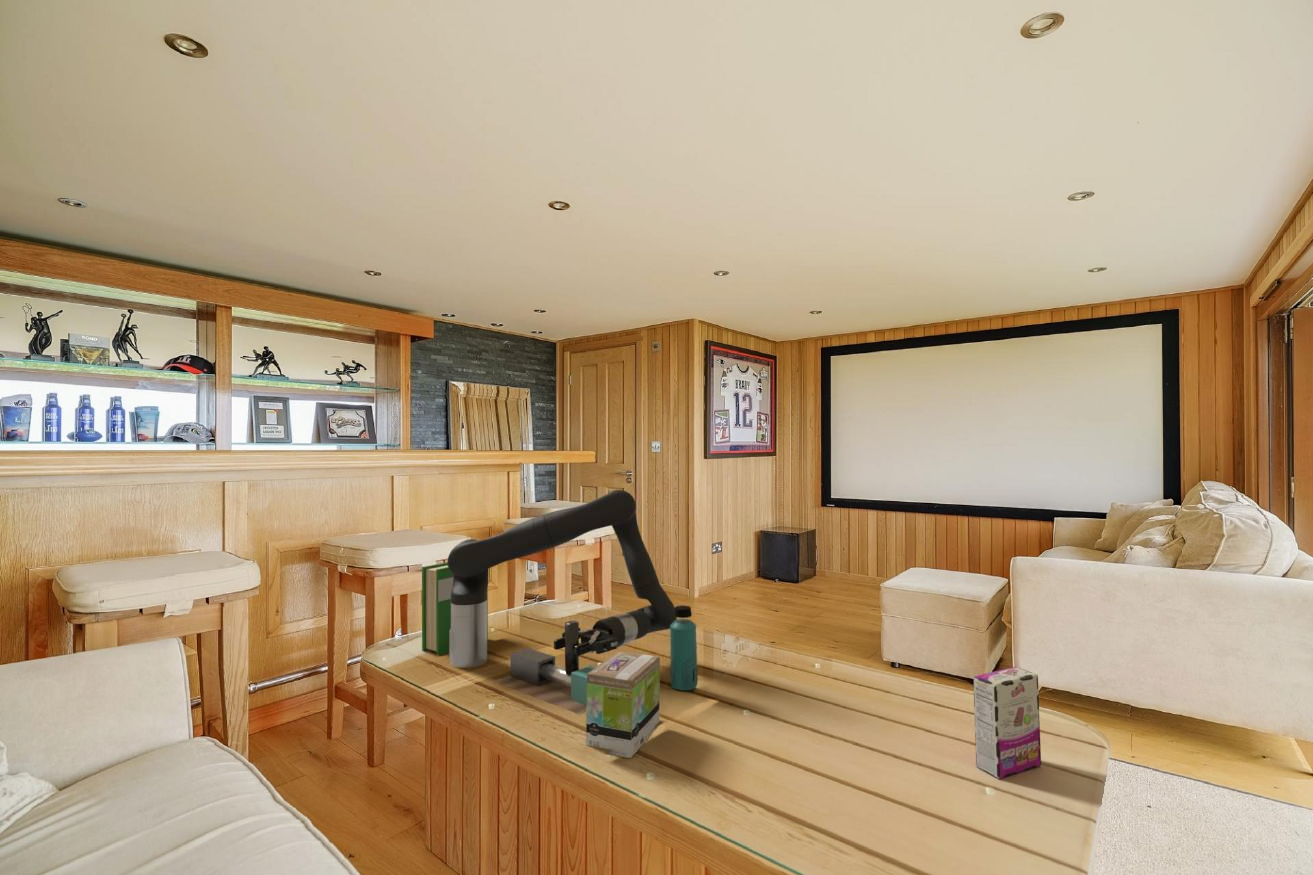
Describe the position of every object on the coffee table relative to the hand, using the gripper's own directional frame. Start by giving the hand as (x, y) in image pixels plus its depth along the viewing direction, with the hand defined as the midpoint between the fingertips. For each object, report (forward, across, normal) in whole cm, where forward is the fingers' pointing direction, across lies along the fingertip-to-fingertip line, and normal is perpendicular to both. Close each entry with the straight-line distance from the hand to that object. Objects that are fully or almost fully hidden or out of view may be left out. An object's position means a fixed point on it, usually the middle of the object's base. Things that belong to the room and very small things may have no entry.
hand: (565, 648), depth 142 cm
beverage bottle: (-21, +18, +12) cm, 30 cm away
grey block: (-2, -14, +11) cm, 18 cm away
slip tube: (-2, -2, +10) cm, 10 cm away
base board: (-2, -5, +12) cm, 13 cm away
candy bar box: (-30, +84, +12) cm, 90 cm away
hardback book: (-7, -56, +12) cm, 58 cm away
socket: (-2, +6, +11) cm, 13 cm away
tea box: (+5, +23, +12) cm, 26 cm away
